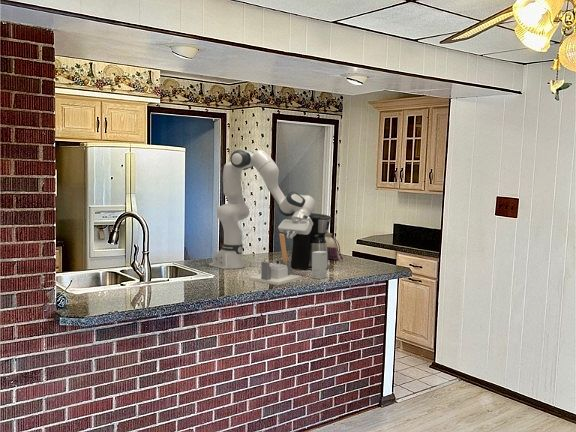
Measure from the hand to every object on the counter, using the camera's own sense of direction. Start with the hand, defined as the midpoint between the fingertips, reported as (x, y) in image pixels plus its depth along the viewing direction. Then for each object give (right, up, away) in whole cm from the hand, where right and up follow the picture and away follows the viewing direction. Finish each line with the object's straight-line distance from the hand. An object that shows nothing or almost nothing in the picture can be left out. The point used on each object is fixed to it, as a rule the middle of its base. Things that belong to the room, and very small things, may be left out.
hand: (289, 237), depth 307 cm
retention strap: (-3, -6, -4) cm, 8 cm away
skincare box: (+17, -23, +1) cm, 28 cm away
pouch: (+27, -17, +64) cm, 71 cm away
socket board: (-7, -23, -8) cm, 25 cm away
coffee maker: (+10, -20, +34) cm, 41 cm away
